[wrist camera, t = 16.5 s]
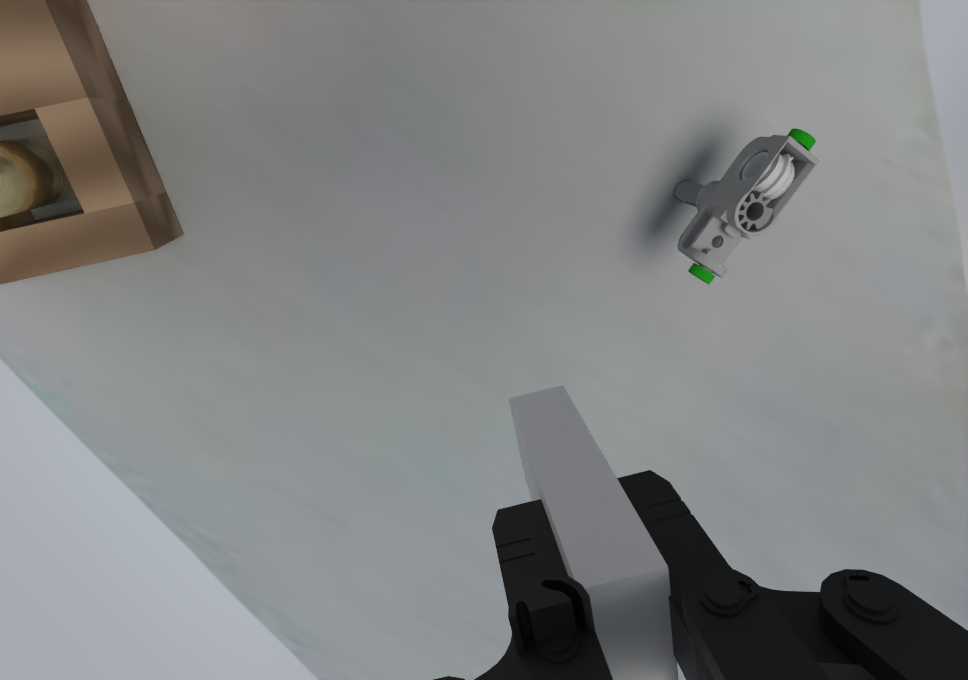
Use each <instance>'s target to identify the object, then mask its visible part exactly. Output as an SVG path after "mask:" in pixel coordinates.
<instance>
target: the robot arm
mask: <svg viewBox="0 0 968 680" xmlns="http://www.w3.org/2000/svg"><path fill="white" fill-rule="evenodd" d="M509 402H510V407H511V411H512V416H513V421H514V426H515V431H516V436H517V440H518V445H519V450H520V455H521V460H522V465H523V469H524V474H525V479H526V483H527V486H528V489H529V492H530V495H531V498H532V501H531V502H527V503H523V504H519V505H515V506H511V507H507V508H503V509H499V510H498V511H497V514H496V517H495V520H494V524H493V527H492V530H493V535H494V540H495V544H496V549H497V554H498V559H499V563H500V568H501V573H502V578H503V582H504V587H505V592H506V597H507V601H508V606H509V612H508V618H509V622H510V626H511V630H512V638H511V642H510V645H509V647H508V649H507V651H506V653H505V655H504V656H503V657H502V658H501V660H500V661H499V662H498V663H497V664H496V665H495V666H493V667H492V668H491V669H490V670H488V671H487V672H486V673H484V674H482V675H481V676H479V677H478V678H476V679H475V680H677V679H678V670H677V662H678V664H679V666H680V668H681V670H682V672H683V674H684V676H685V678H686V680H968V631H967V630H966V629H964V628H963V627H961V626H960V625H959V624H957V623H956V622H954V621H953V620H951V619H950V618H948V617H947V616H945V615H944V614H942V613H941V612H940V611H938V610H937V609H935V608H934V607H932V606H931V605H929V604H928V603H926V602H925V601H923V600H922V599H921V598H919V597H918V596H916V595H915V594H913V593H912V592H910V591H909V590H907V589H906V588H905V587H903V586H902V585H900V584H898V583H896V582H894V581H893V580H891V579H889V578H887V577H885V576H883V575H880V574H877V573H873V572H869V571H866V570H850V569H845V570H842V571H838V572H835V573H832V574H830V575H829V576H828V577H827V578H826V579H825V580H824V581H823V582H822V585H821V590H820V592H799V591H780V590H771V589H768V588H764V587H761V586H759V585H758V584H757V583H756V582H755V581H753V580H752V579H751V578H750V577H748V576H746V575H744V574H742V573H740V572H738V571H736V570H733V569H732V568H731V567H730V566H729V565H728V563H727V562H726V561H725V559H724V558H723V556H722V555H721V554H720V552H719V551H718V549H717V548H716V547H715V545H714V544H713V542H712V541H711V540H710V538H709V537H708V535H707V534H706V533H705V531H704V530H703V528H702V527H701V526H700V524H699V523H698V521H697V520H696V519H695V517H694V516H693V515H691V513H690V510H689V509H688V507H687V506H686V505H685V503H684V502H683V501H681V498H680V496H679V495H678V494H677V492H676V491H675V489H674V488H673V487H672V485H671V484H670V482H669V481H667V480H665V479H664V478H662V477H661V476H659V475H657V474H656V473H654V472H653V471H651V470H649V471H645V472H641V473H637V474H633V475H629V476H625V477H621V478H616V476H615V474H614V473H613V471H612V469H611V467H610V466H609V464H608V462H607V461H606V459H605V457H604V455H603V454H602V452H601V450H600V449H599V447H598V445H597V443H596V442H595V440H594V438H593V436H592V435H591V433H590V431H589V430H588V428H587V426H586V424H585V423H584V421H583V419H582V418H581V416H580V414H579V412H578V411H577V409H576V407H575V405H574V404H573V402H572V400H571V399H570V397H569V395H568V393H567V392H566V390H565V388H564V386H559V387H554V388H550V389H546V390H542V391H538V392H534V393H530V394H525V395H521V396H517V397H513V398H509ZM434 680H465V679H462V678H456V677H450V676H447V677H443V678H438V679H434Z"/></svg>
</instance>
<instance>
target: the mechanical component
mask: <svg viewBox="0 0 968 680" xmlns="http://www.w3.org/2000/svg"><path fill="white" fill-rule="evenodd" d="M815 142H816V141H815V139H814V138H813V137H812V136H811V135H810V134H808V133H806V132H804V131H802V130H799V129H792V130H791V131H790V133H789V134H788V135H787V136H780V135H773V136H771V137H758V138H756V139H754V140H753V141H751V142H750V143H749V144H748V145H747V146H745V148H744V149H743V150H742V151H741V152H740V154H739V155H738V157H737V158H736V159H735V161H734V162H733V164H732V165H731V166H730V168H729V169H728V171H727V172H726V173H725V175H724V176H723V178H722V179H721V180H720V181H712V182H710V183H708V184H706V185H701V184H697V183H693V182H688V181H682V182H680V183H679V184H677V186H676V187H675V190H674V195H675V196H676V197H677V198H678V199H680V200H681V202H683V203H687V204H690V205H693V206H696V207H697V210H698V212H697V214H696V215H695V217H694V218H693V219H692V221H691V222H690V224H689V225H688V226H687V228H686V229H685V231H684V232H683V234H682V235H681V237H680V239H679V242H678V250H679V251H680V252H681V253H683V254H684V255H686V256H687V257H689V258H690V259H692V260H693V261H695V262H696V263H698V264H699V265H697V264H695V263H694V264H693V265H692V266H691V268H690V269H689V270H688V271H689V272H690V273H691V274H693V275H694V276H696V277H697V278H699V279H701V280H702V281H704V282H706V283H707V284H710V282H711V281H712V280H713V278H714V277H715V276H714V275H713V274H712V273H714V274H716V275H717V276H719V277H723V276H724V274H725V273H726V272H727V270H728V269H727V268H726V267H725V266H723V263H724V262H725V261H726V259H727V258H728V257H729V255H730V254H731V253H732V251H733V250H734V249H735V247H736V246H737V245H738V243H739V242H740V241H741V239H742V238H743V237H745V238H748V239H751V237H752V236H758V235H762V234H764V233H766V232H767V231H769V230H770V229H771V228H772V227H773V226H774V224H775V223H776V221H777V220H778V217H779V215H780V213H781V212H782V210H783V209H784V208H785V207H786V205H787V204H788V203H789V201H790V200H791V199H792V197H793V196H794V195H795V193H796V192H797V191H798V189H799V188H800V187H801V185H802V184H803V183H804V181H805V180H806V179H807V178H808V176H809V175H810V174H811V172H812V171H813V170H814V168H815V167H816V166H817V164H818V163H819V162H820V160H818V159H817V158H816V157H815V156H814V155H812V154H811V153H810V152H809V150H810V149H811V147H812V146H813V145H814V143H815ZM794 173H795V177H794V180H793V182H792V184H791V185H790V187H789V188H788V189H787V190H786V191H785V192H784V193H783V194H782V195H780V196H779V197H777V198H775V199H773V200H771V198H773V197H775V196H777V195H778V194H779V193H781V192H782V191H783V190H784V189H785V188H786V187H787V185H788V184H789V183H790V181H791V179H792V177H793V175H794ZM711 272H712V273H711Z"/></svg>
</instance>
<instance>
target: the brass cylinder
mask: <svg viewBox="0 0 968 680" xmlns="http://www.w3.org/2000/svg"><path fill="white" fill-rule="evenodd" d="M76 197H77V196H76V194H75V192H74V190H73V188H72V186H71V184H70V182H69V179H68V177H67V175H66V173H65V171H64V169H63V167H62V165H61V163H60V161H59V159H58V156H57V154H56V152H55V150H54V148H53V146H52V144H51V142H50V140H49V138H48V137H45V138H31V139H17V140H3V141H0V218H1V217H5V216H9V215H13V214H16V213H20V212H24V211H28V210H32V209H35V208H39V207H43V206H47V205H51V204H55V203H58V202H62V201H66V200H70V199H73V198H76Z"/></svg>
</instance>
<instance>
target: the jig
mask: <svg viewBox="0 0 968 680" xmlns="http://www.w3.org/2000/svg"><path fill="white" fill-rule="evenodd" d="M37 118H39V119H40V121H41V123H42V125H43V127H44V129H45V131H46V134H47V136H48V138H49V140H50V142H51V144H52V146H53V148H54V150H55V152H56V154H57V156H58V159H59V161H60V163H61V165H62V167H63V169H64V171H65V173H66V175H67V177H68V179H69V182H70V184H71V186H72V188H73V190H74V192H75V194H76V196H77V198H78V200H79V202H80V204H81V207H82V209H83V210H81V211H77V212H72V213H68V214H63V215H58V216H54V217H49V218H45V219H40V220H36V221H35V220H34V218H33V216H32V214H31V212H30V210H28V211H24V212H20V213H16V214H13V215H9V216H5V217H1V218H0V284H4V283H9V282H13V281H18V280H22V279H27V278H31V277H35V276H40V275H44V274H49V273H53V272H58V271H62V270H67V269H71V268H76V267H80V266H85V265H89V264H94V263H98V262H103V261H107V260H112V259H116V258H121V257H125V256H129V255H134V254H138V253H143V252H147V251H152V250H155V249H157V248H159V247H161V246H163V245H165V244H166V243H168V242H170V241H172V240H174V239H176V238H177V237H179V236H181V235H183V231H182V229H181V227H180V224H179V222H178V219H177V217H176V215H175V212H174V210H173V207H172V205H171V203H170V200H169V198H168V195H167V193H166V191H165V188H164V186H163V183H162V181H161V179H160V176H159V174H158V171H157V169H156V166H155V164H154V162H153V159H152V157H151V154H150V152H149V150H148V147H147V145H146V142H145V140H144V138H143V135H142V133H141V130H140V128H139V126H138V123H137V121H136V118H135V116H134V114H133V111H132V109H131V106H130V104H129V101H128V99H127V97H126V94H125V92H124V89H123V87H122V85H121V82H120V80H119V77H118V75H117V73H116V70H115V68H114V65H113V63H112V61H111V58H110V56H109V53H108V51H107V49H106V46H105V44H104V41H103V39H102V36H101V34H100V32H99V29H98V27H97V24H96V22H95V20H94V17H93V15H92V12H91V10H90V8H89V5H88V3H87V0H0V126H4V125H9V124H14V123H18V122H23V121H28V120H33V119H37Z"/></svg>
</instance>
